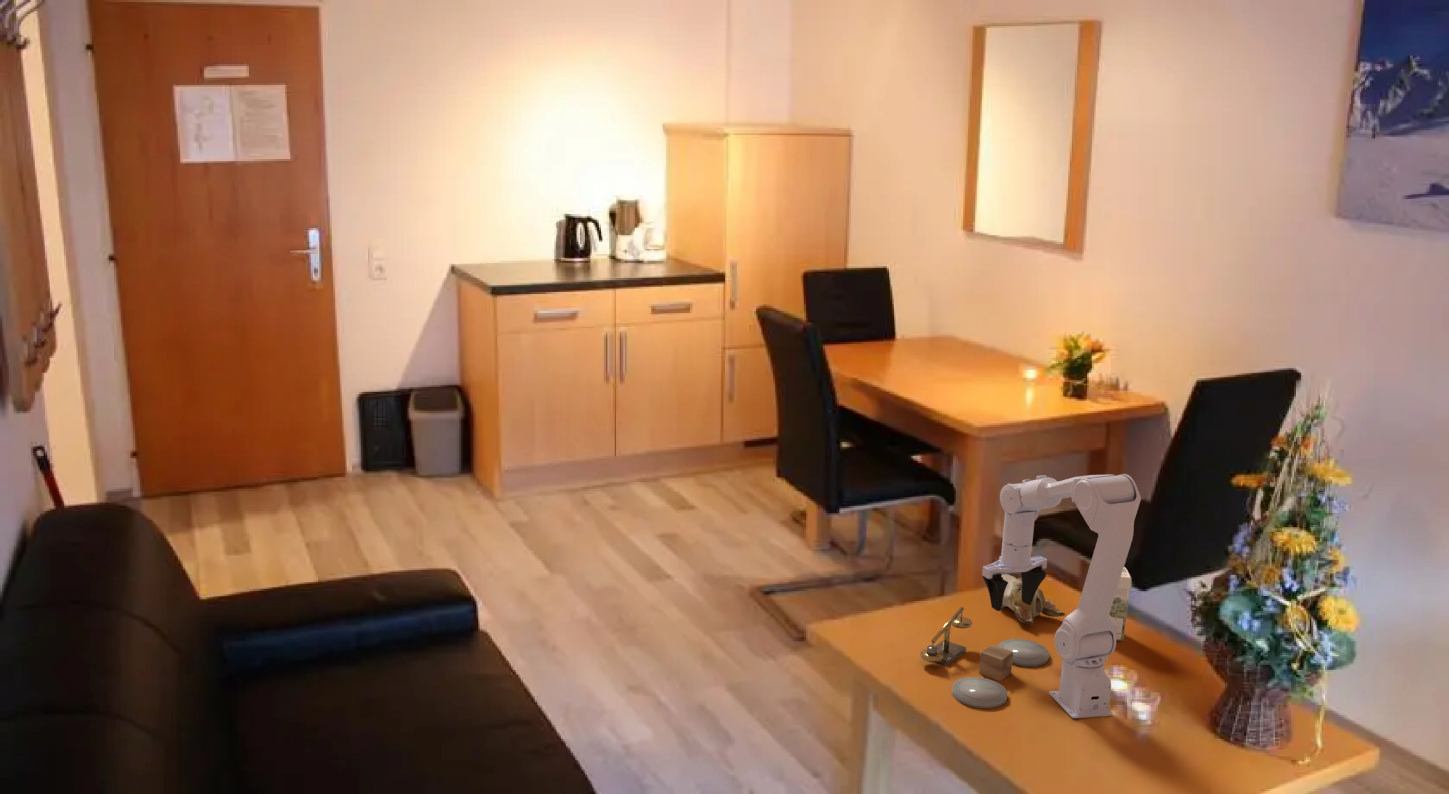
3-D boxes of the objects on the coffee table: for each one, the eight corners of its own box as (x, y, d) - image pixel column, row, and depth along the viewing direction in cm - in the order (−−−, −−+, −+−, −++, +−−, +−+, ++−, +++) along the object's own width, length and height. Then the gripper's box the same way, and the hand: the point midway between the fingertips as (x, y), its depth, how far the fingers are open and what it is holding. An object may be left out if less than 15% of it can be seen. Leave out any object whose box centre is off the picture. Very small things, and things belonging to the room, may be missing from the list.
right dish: (1057, 664, 234) (1057, 659, 234) (1010, 668, 232) (1010, 662, 232) (1034, 642, 244) (1035, 637, 244) (989, 645, 242) (989, 640, 242)
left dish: (1015, 706, 218) (1016, 700, 217) (964, 710, 216) (965, 704, 215) (993, 680, 227) (993, 675, 227) (944, 683, 225) (944, 678, 225)
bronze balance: (953, 637, 245) (956, 599, 243) (975, 645, 242) (978, 606, 240) (914, 664, 233) (917, 625, 230) (936, 672, 230) (940, 632, 227)
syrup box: (1117, 629, 251) (1125, 565, 247) (1123, 642, 245) (1131, 576, 242) (1090, 628, 251) (1097, 563, 248) (1095, 640, 246) (1103, 574, 242)
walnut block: (990, 665, 233) (992, 644, 232) (1011, 673, 230) (1013, 652, 229) (979, 673, 230) (980, 652, 229) (1000, 681, 227) (1002, 659, 226)
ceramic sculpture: (1022, 561, 263) (1071, 589, 251) (1017, 596, 266) (1065, 626, 254) (985, 569, 258) (1033, 599, 246) (980, 605, 261) (1028, 636, 249)
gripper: (1032, 530, 241) (1026, 592, 244) (974, 540, 235) (969, 604, 238) (1056, 542, 235) (1050, 606, 238) (997, 552, 228) (992, 617, 232)
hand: (1011, 606), depth 237 cm, fingers open, 7 cm apart
